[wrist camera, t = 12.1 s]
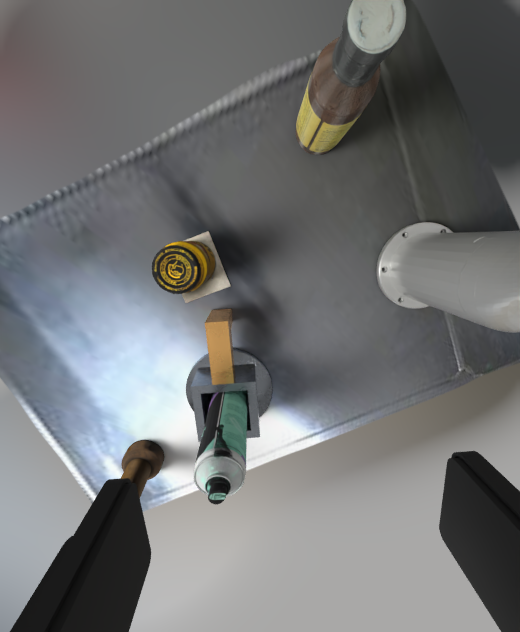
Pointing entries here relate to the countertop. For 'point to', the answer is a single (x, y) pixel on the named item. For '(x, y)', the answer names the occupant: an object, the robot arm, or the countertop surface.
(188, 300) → the condiment
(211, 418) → the spray can
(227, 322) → the grey square saucepan
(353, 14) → the sauce bottle
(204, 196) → the countertop surface
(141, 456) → the brown wooden tall piece
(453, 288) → the robot arm
